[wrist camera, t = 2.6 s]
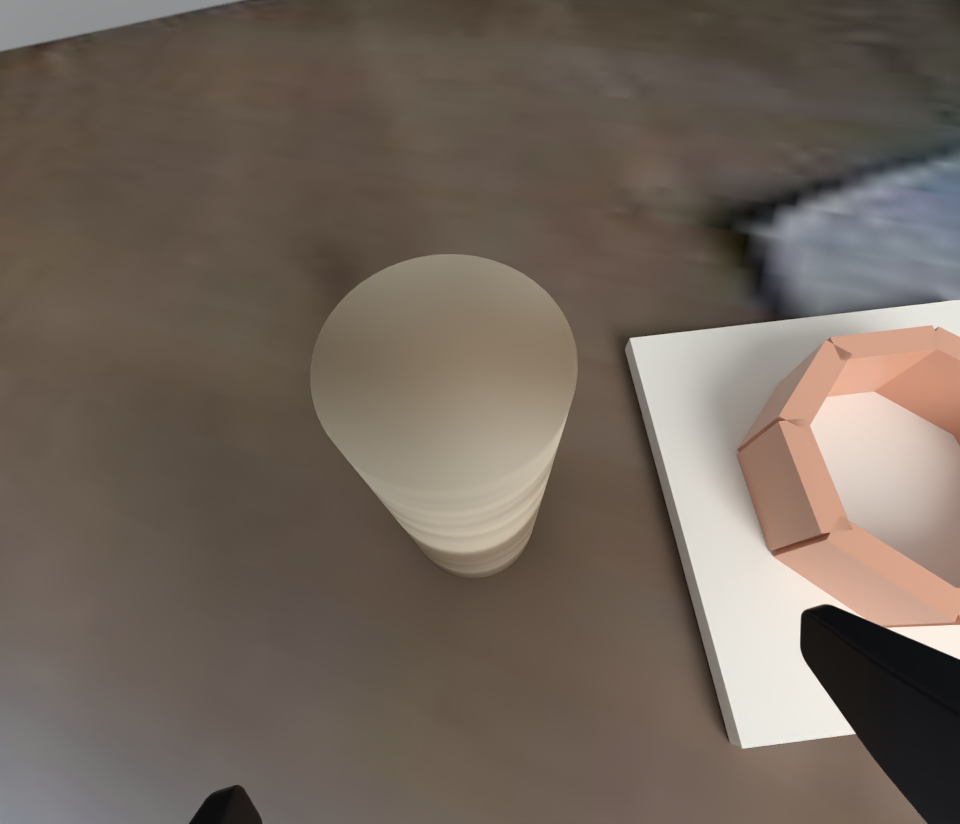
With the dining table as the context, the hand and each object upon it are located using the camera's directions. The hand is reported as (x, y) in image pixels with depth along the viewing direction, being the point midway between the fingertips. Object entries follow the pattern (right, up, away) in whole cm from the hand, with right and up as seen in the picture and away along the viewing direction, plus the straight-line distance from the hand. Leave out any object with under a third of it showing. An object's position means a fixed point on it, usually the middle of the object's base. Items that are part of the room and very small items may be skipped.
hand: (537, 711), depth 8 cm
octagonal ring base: (+15, +1, +13) cm, 20 cm away
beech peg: (-1, 0, +14) cm, 14 cm away
